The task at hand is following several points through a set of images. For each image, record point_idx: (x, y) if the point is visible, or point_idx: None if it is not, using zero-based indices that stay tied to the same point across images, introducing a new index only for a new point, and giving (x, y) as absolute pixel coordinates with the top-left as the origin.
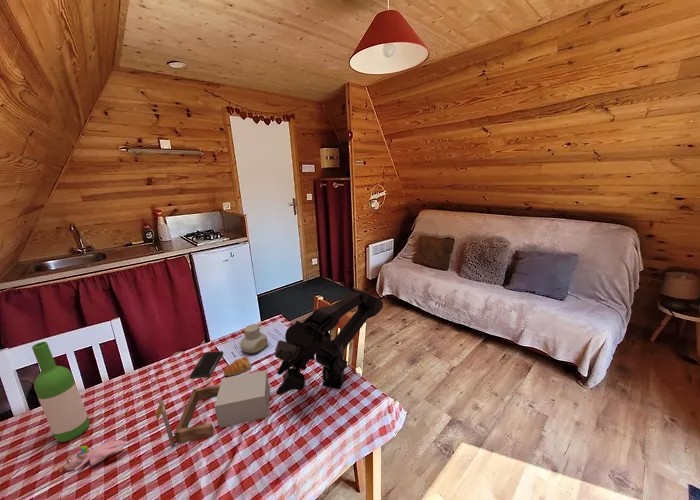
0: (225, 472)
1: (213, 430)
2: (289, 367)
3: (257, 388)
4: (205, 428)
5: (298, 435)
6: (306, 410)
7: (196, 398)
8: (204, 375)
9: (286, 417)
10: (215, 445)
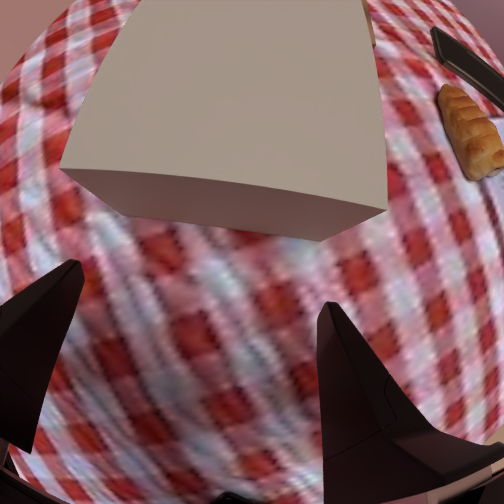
0: (17, 98)
1: None
2: (324, 426)
3: (165, 113)
4: None
5: None
6: (96, 393)
7: None
8: (439, 48)
9: (86, 299)
10: None
